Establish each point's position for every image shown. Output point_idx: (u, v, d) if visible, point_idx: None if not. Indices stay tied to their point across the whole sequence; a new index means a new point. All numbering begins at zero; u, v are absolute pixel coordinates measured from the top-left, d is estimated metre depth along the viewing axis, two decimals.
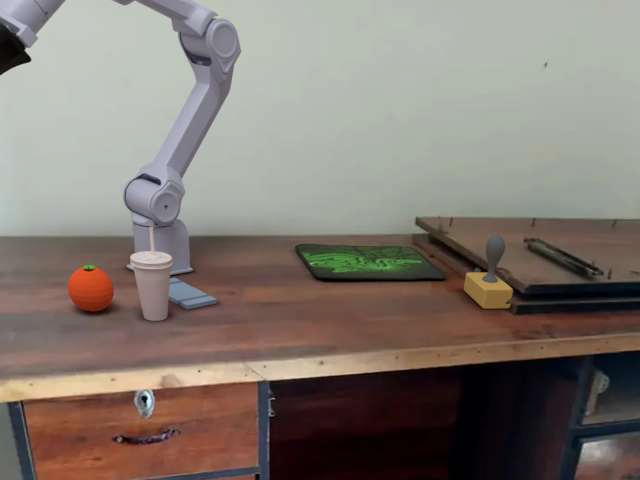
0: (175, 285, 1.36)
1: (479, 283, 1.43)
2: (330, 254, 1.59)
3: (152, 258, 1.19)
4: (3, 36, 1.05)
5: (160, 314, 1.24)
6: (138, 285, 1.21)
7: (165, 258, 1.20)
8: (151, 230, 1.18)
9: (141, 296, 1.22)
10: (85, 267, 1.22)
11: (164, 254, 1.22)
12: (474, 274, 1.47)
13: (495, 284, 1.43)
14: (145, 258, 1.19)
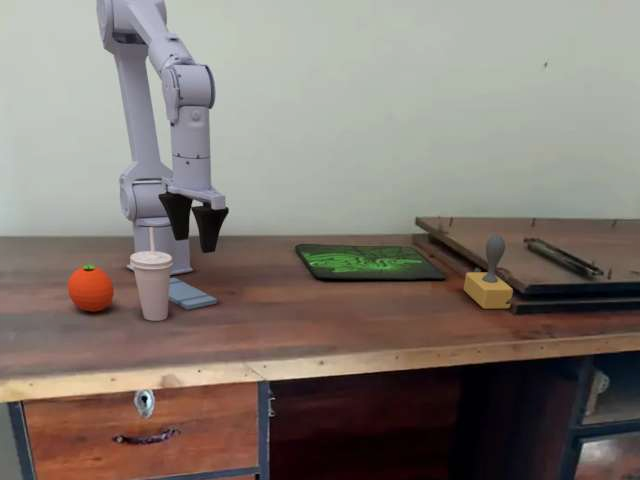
0: (175, 285, 1.36)
1: (479, 283, 1.43)
2: (330, 254, 1.59)
3: (152, 258, 1.19)
4: (205, 217, 1.17)
5: (160, 314, 1.24)
6: (138, 285, 1.21)
7: (165, 258, 1.20)
8: (151, 230, 1.18)
9: (141, 296, 1.22)
10: (85, 267, 1.22)
11: (164, 254, 1.22)
12: (474, 274, 1.47)
13: (495, 284, 1.43)
14: (145, 258, 1.19)
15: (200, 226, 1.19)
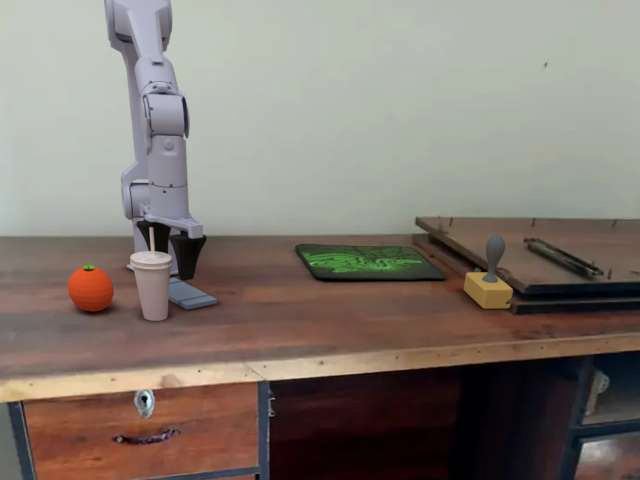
0: (175, 285, 1.36)
1: (479, 283, 1.43)
2: (330, 254, 1.59)
3: (152, 258, 1.19)
4: (182, 246, 1.16)
5: (160, 314, 1.24)
6: (138, 285, 1.21)
7: (165, 258, 1.20)
8: (151, 230, 1.18)
9: (141, 296, 1.22)
10: (85, 267, 1.22)
11: (164, 254, 1.22)
12: (474, 274, 1.47)
13: (495, 284, 1.43)
14: (145, 258, 1.19)
15: (177, 254, 1.18)
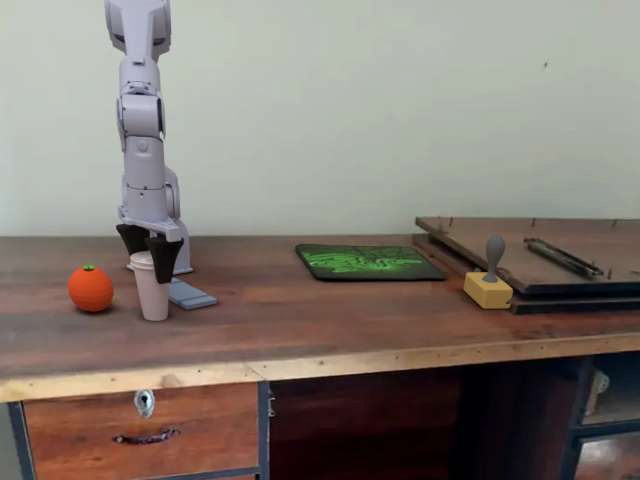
0: (175, 285, 1.36)
1: (479, 283, 1.43)
2: (330, 254, 1.59)
3: None
4: (159, 249, 1.14)
5: (160, 314, 1.24)
6: (138, 285, 1.21)
7: None
8: None
9: (141, 296, 1.22)
10: (85, 267, 1.22)
11: None
12: (474, 274, 1.47)
13: (495, 284, 1.43)
14: (145, 258, 1.19)
15: (154, 257, 1.16)
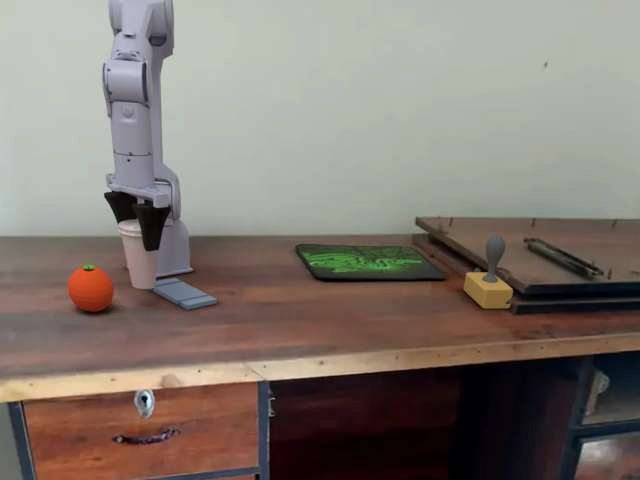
0: (175, 285, 1.36)
1: (479, 283, 1.43)
2: (330, 254, 1.59)
3: None
4: (146, 215, 1.15)
5: (148, 282, 1.25)
6: (126, 253, 1.22)
7: None
8: None
9: (129, 264, 1.23)
10: (85, 267, 1.22)
11: None
12: (474, 274, 1.47)
13: (495, 284, 1.43)
14: (133, 225, 1.20)
15: (141, 223, 1.17)
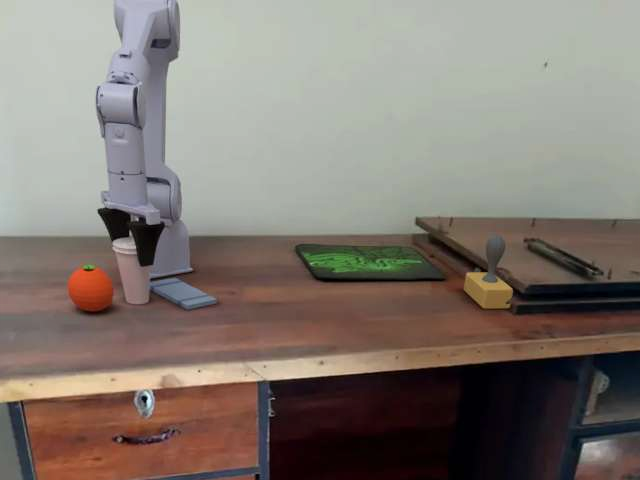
0: (175, 285, 1.36)
1: (479, 283, 1.43)
2: (330, 254, 1.59)
3: (133, 243, 1.25)
4: (140, 232, 1.19)
5: (142, 297, 1.29)
6: (120, 270, 1.26)
7: None
8: (132, 217, 1.23)
9: (123, 280, 1.27)
10: (85, 267, 1.22)
11: None
12: (474, 274, 1.47)
13: (495, 284, 1.43)
14: (126, 243, 1.24)
15: (136, 240, 1.21)
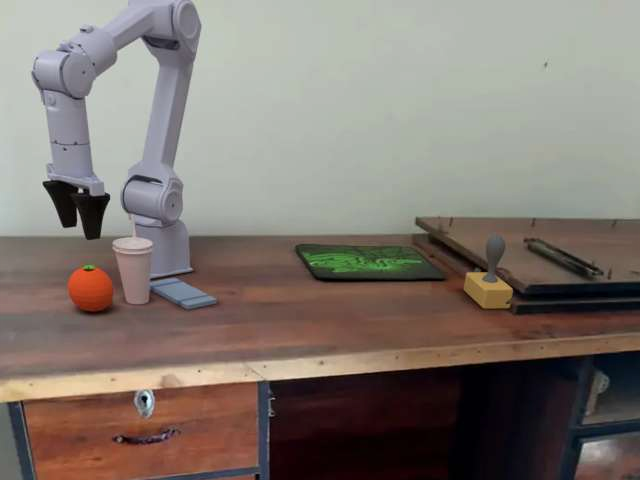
0: (175, 285, 1.36)
1: (479, 283, 1.43)
2: (330, 254, 1.59)
3: (133, 243, 1.25)
4: (84, 204, 1.17)
5: (142, 297, 1.29)
6: (120, 270, 1.26)
7: (146, 244, 1.26)
8: (132, 217, 1.23)
9: (123, 280, 1.27)
10: (85, 267, 1.22)
11: (145, 240, 1.27)
12: (474, 274, 1.47)
13: (495, 284, 1.43)
14: (127, 243, 1.24)
15: (81, 212, 1.19)
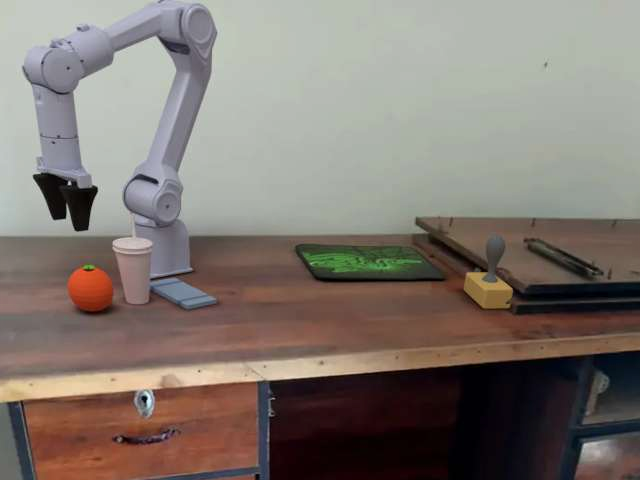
0: (175, 285, 1.36)
1: (479, 283, 1.43)
2: (330, 254, 1.59)
3: (133, 243, 1.25)
4: (72, 196, 1.20)
5: (142, 297, 1.29)
6: (120, 270, 1.26)
7: (146, 244, 1.26)
8: (132, 217, 1.23)
9: (123, 280, 1.27)
10: (85, 267, 1.22)
11: (145, 240, 1.27)
12: (474, 274, 1.47)
13: (495, 284, 1.43)
14: (126, 243, 1.24)
15: (69, 204, 1.22)
